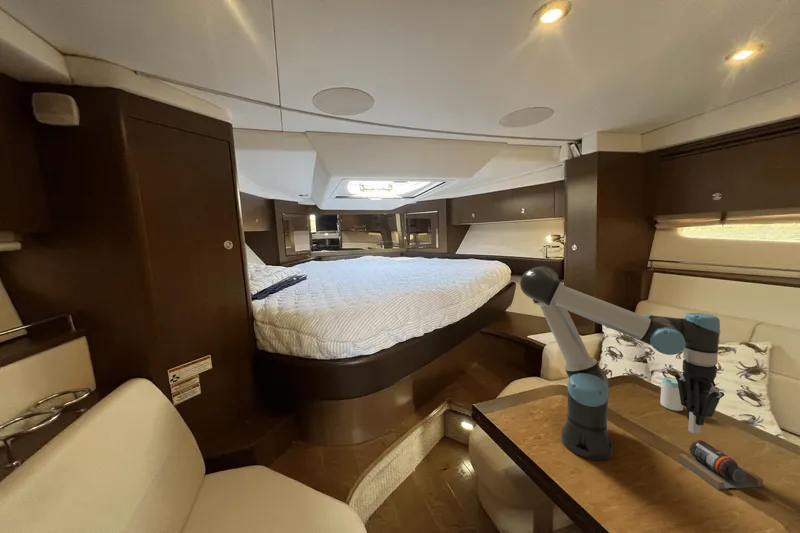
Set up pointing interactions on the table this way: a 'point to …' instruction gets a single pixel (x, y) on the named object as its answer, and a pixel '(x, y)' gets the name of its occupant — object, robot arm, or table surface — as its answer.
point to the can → (670, 394)
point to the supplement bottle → (717, 460)
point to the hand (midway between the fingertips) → (694, 431)
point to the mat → (716, 478)
